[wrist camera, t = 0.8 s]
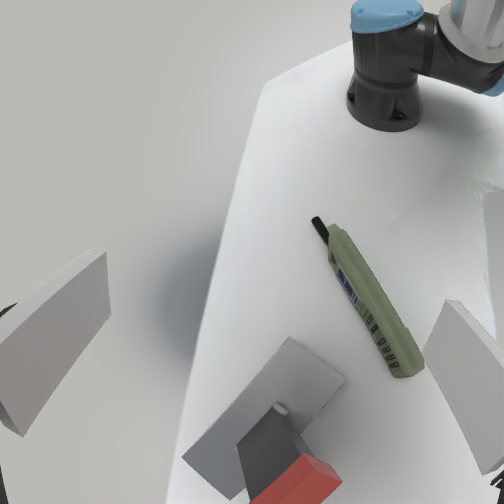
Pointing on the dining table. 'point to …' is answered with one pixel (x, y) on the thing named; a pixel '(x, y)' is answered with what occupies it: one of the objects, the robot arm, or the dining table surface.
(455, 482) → the dining table surface
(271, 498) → the breaker lever
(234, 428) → the breaker box
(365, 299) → the handheld radio
